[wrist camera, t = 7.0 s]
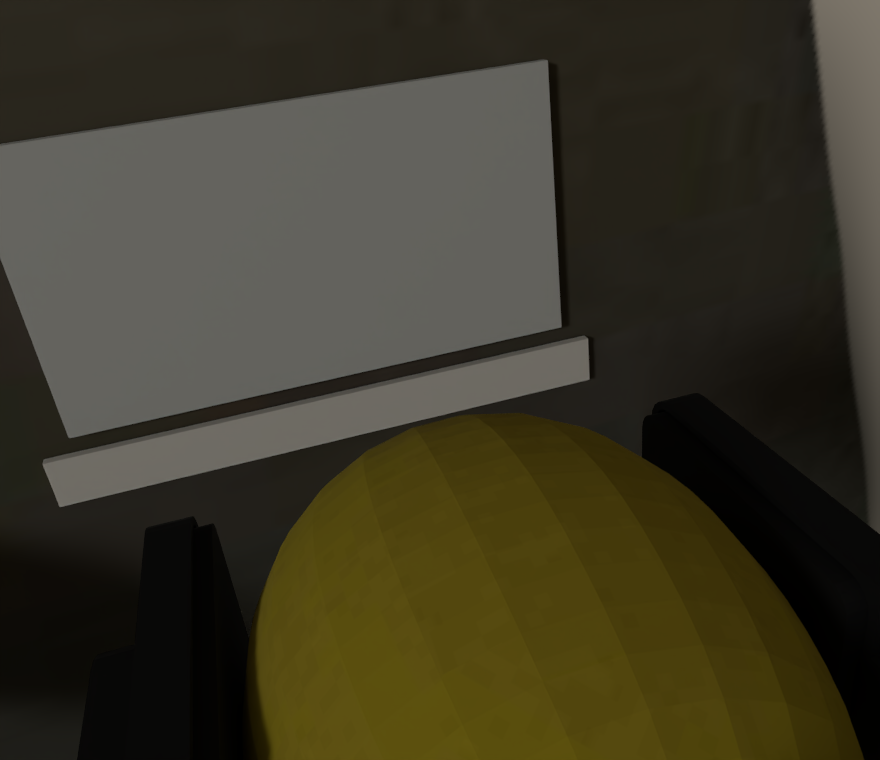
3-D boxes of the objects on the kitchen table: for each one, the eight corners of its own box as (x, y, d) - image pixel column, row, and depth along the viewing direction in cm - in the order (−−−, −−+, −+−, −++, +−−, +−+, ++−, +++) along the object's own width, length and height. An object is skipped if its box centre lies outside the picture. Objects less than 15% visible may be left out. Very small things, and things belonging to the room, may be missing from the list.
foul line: (585, 376, 29) (589, 379, 28) (61, 501, 25) (59, 506, 25) (584, 335, 28) (588, 338, 28) (43, 459, 25) (42, 464, 24)
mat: (556, 322, 27) (561, 327, 27) (70, 432, 24) (69, 438, 24) (542, 59, 24) (547, 60, 23) (-36, 149, 21) (-40, 152, 20)
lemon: (651, 353, 12) (1321, 875, 5) (529, 648, 14) (879, 1334, 7) (275, 276, 10) (471, 979, 3) (194, 634, 12) (189, 1587, 5)
